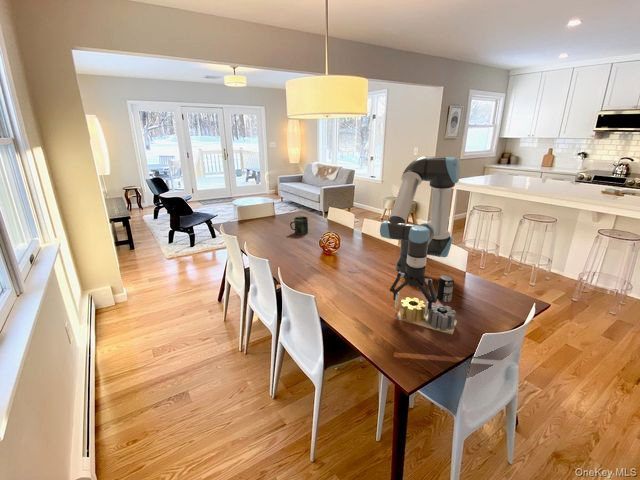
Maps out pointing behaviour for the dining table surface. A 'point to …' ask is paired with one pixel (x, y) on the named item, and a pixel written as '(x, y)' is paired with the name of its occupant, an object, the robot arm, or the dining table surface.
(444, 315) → the gear
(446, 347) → the dining table surface
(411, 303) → the brass gear
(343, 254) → the dining table surface
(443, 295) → the beverage can
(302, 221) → the mug
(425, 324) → the gear board
